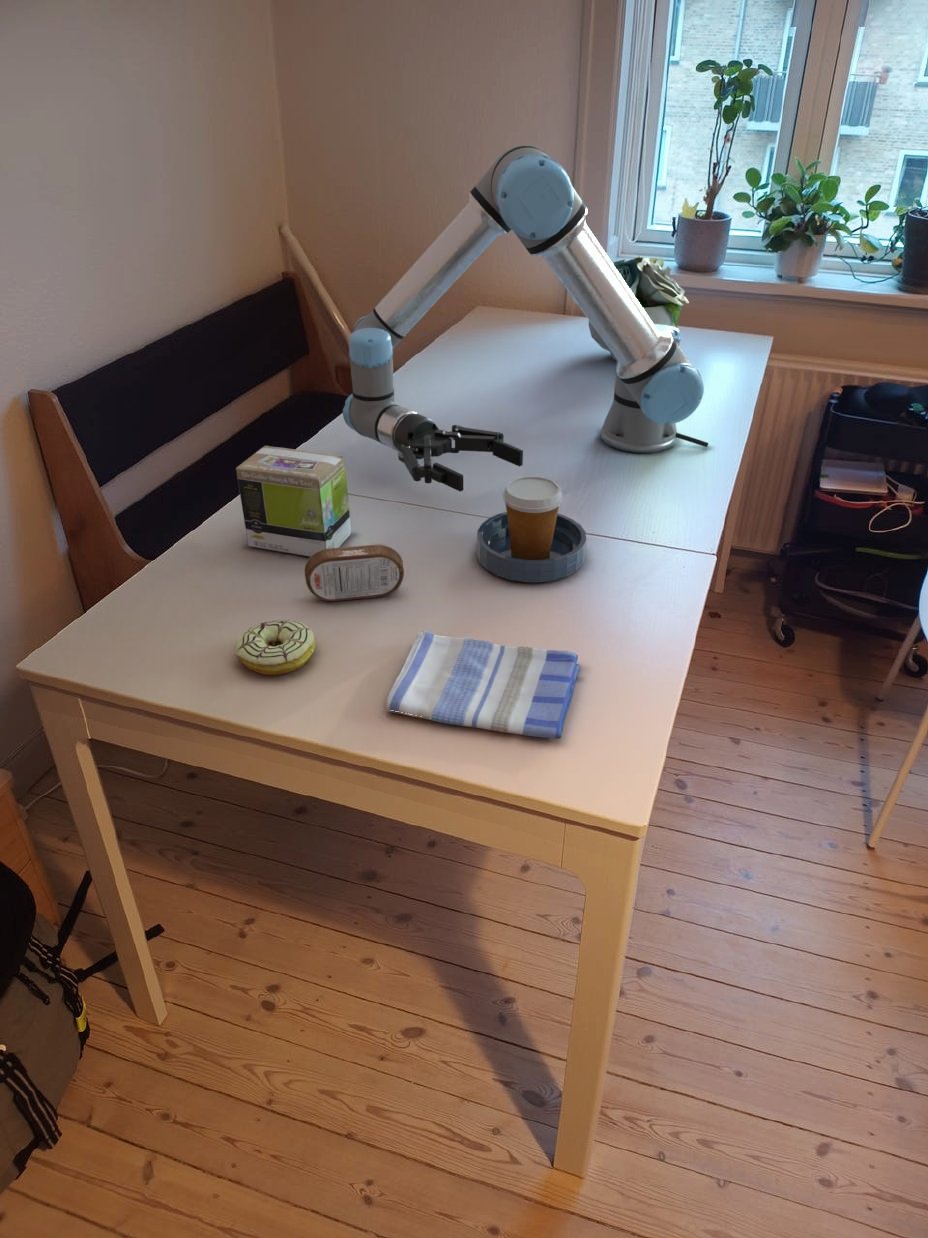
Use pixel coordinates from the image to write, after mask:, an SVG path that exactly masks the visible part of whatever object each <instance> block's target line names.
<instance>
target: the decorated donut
mask: <svg viewBox="0 0 928 1238" xmlns="http://www.w3.org/2000/svg"><path fill="white" fill-rule="evenodd" d="M315 640H316V639H315V635H314V632H313V630H312V629H311V628H310V627H309V626H307V625H306V624H305V623H303V622H302V621H297V620H290V619H279V620H269V621H268V620H267V621H264V622H260V623H259V624H256V625H254V626H251V627H250V628H248V629H246V630H245V631H243V632H242V633H241V634H239V637H237V638H236V642H235V652H234V653H235V656H236V657H238V660H239V662H240V663H241V664H243V665H244V666H245V667H247V669H249V670H251V671H253V672H256V673H258V674H261V675H264V676H265V675H266V676H276V675H285V674H289V673H291V672H294V671H296V670H299V669H300V668H301V667H302V666H304V665H306V663H307V662H308V660H309V659H310V657H311V656H312V655H313V653H314V651H315V648H316V641H315ZM257 671H258V672H257Z"/></svg>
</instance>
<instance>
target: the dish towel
mask: <svg viewBox="0 0 928 1238" xmlns="http://www.w3.org/2000/svg"><path fill="white" fill-rule="evenodd" d="M578 658H579V656H578V654H577V653H575V652H573V651H568V650H558V649H557V650H556V649H543V648H535V647H529V646H506V645H502V644H501V645H500V644H496V643H494V642H491V641H485V640H479V639H474V638H467V637H466V638H465V637H464V638H461V637H453V636H445V635H439V634H434V633H433V632H430V631H428V630H426V631H421V632H417V633H416V638H415V641H414V643H413V645H412V647H411V648H410V651H409V653H408V654H407V657H406V659H405V661H404V663H403V666H402V668H401V669H400V671H399V673H398V675H397V677H396V679H395V680H394V682H393V685H392V687H391V689H390V691H389V693H388V696H387V698H386V701H385V709H386V708H387V709H386V711H387V712H388V713H393V714H398V715H399V714H401V715H404V716H408V717H414V718H417V719H418V718H419V719H423V720H429V721H433V722H436V723H442V724H448V725H453V726H461V727H469V728H478V729H482V730H483V729H484V730H488V731H489V730H490V731H492V732H500V733H507V734H514V735H521V736H527V737H535V738H543V739H552V740H555V739H556V740H559V739H561V738H562V734H563V730H564V725H565V724H564V723H565V720H566V717H567V714H568V710H569V707H570V704H571V701H572V698H573V695H574V691H575V690H574V689H575V686H576V682H577V677H578V675H579V671H580V668H581V664H580V663H578ZM390 710H394V711H390ZM395 711H399V712H395ZM401 712H403V713H401ZM405 713H407V714H405ZM408 713H409V714H413V715H409V714H408ZM415 715H417V716H415ZM420 716H422V717H420ZM430 718H431V719H430Z"/></svg>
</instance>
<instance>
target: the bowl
mask: <svg viewBox="0 0 928 1238" xmlns="http://www.w3.org/2000/svg"><path fill="white" fill-rule="evenodd" d="M586 548H587V533H586V531H585V529H584V527H583V526H582V525H581V524H580V523H579V522H577V521H576V520H574V519H573V518H571V517H568V516H566V515H564V514H561V513H558V514H557V519H556V524H555V530H554V535H553V540H552V545H551V550H550V555H549V557H548V558H547V559H545V560H523V559H517V558H513V556H512V554H511V545H510V536H509V527H508V518H507V511H505V512H500V513H497V514H495V515H493V516H491V517H489V518H487V519H486V520H484V521H483V523H481V524H480V525H479V527H478V529H477V534H476V557H477V559H478V561H479V563H480V565H481V566H482V567H484V569H486V570H487V571H488V572H490V573H492V574H494V575H495V576H497V577H500V578H504V579H507V580H510V581H517V582H522V583H543V582H552V581H556V580H560V579H563V578H566V577H568V576H570V575H571V574H573V573H576V572H577V571H578V570H579V569H580V568H581V567H582V566H583V564H584V561H585V559H586Z"/></svg>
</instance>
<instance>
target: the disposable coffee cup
mask: <svg viewBox="0 0 928 1238" xmlns="http://www.w3.org/2000/svg"><path fill="white" fill-rule="evenodd" d="M502 497H503V498H502V499H503V501H504V503H505V509H506V512H507V518H508V527H509V536H510V545H511V554H512V556H513V558H517V559H523V560H545V559H547V558H548V557H549V555H550V550H551V545H552V540H553V535H554V530H555V524H556V519H557V514H559V508H560V505H561V503H562V502H563V499H564V494H563V492H562V490H561V486H560V484H559V483H558V482H557V481H555V480H553V479H552V478H549V477H545V476H539V475H525V476H519V477H516V478H513V479H511V480H509V481H508V482H507V483H506V485H505V489H504V490H503V492H502Z"/></svg>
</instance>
